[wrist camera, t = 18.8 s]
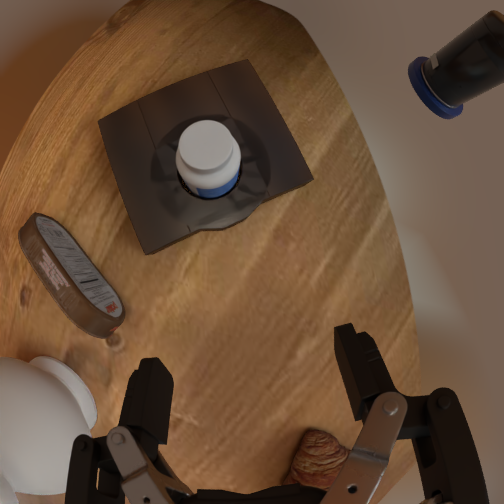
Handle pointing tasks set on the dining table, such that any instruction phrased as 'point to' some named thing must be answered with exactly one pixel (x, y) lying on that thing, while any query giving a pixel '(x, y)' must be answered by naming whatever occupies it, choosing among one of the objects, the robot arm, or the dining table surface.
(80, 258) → the tin
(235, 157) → the pill bottle
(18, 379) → the decorative vase
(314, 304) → the dining table surface
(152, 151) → the base pad
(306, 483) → the pastry
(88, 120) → the dining table surface
